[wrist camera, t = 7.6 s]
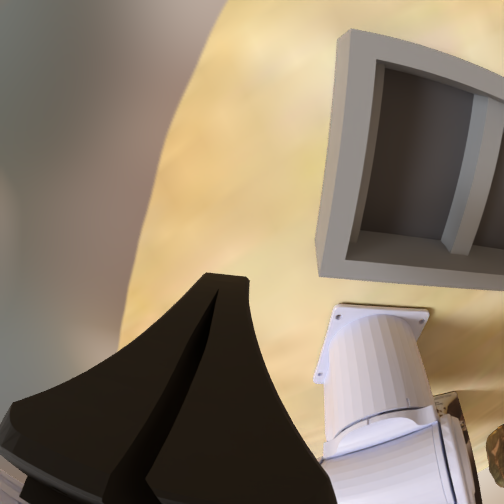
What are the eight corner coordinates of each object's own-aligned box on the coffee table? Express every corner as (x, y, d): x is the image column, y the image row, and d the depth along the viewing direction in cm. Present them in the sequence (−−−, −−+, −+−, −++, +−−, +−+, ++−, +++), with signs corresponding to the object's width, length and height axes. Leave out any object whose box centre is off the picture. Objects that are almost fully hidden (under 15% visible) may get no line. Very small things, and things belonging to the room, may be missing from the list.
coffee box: (457, 388, 27) (487, 514, 14) (443, 416, 30) (463, 526, 17) (383, 403, 29) (396, 542, 15) (376, 429, 32) (384, 547, 19)
